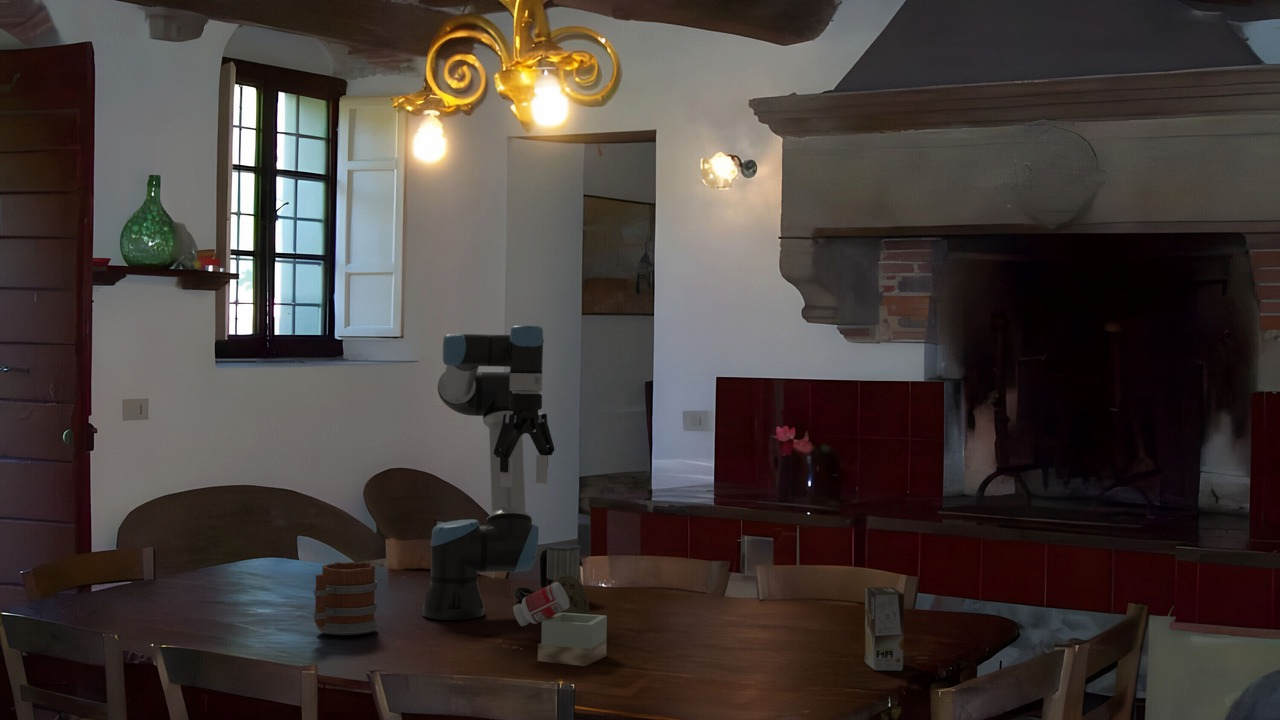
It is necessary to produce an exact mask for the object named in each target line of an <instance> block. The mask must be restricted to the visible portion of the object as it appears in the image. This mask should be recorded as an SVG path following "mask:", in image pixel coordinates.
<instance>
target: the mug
mask: <svg viewBox="0 0 1280 720" xmlns="http://www.w3.org/2000/svg"><path fill="white" fill-rule="evenodd" d="M321 573H322V574H316V575H315V588H314V591H313V595H314V596H315V597H314V598H315V599H314V600H315V605H314V606H315V609H314V610H315V611H313V619H314V623H315V625H316V626H317V627H316V628H317V630H318V632H320V633H322V634H327V635H333V636H353V635H354V636H355V635H363V634H369V633H372V632H375V631H376V630H377V629H379V625H378V623H377V621H376V619H375V613H376V612H377V609H378V608H377V607H378V605H377V603H378V602H376V601H375V591H376V590H377V589H378V580H377V579H376V578H375V577H376V576H375V575H376V565H375V564H374V563H371V562H367V561H362V562H354V561H349V562H339V561H336V562H334V563H329V564H324V565H323V566H322V572H321Z"/></svg>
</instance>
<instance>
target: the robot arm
mask: <svg viewBox="0 0 1280 720" xmlns="http://www.w3.org/2000/svg"><path fill="white" fill-rule="evenodd" d="M544 342H545V339H544V330H543V328H542V327H541V326H538V325H513V326H512V327H511V329H510V334H481V333H479V334H477V333H460V332H458V333H447V334H445V335H444V337H443V342H442V362H443V364H444V365H446V366H445V367H446V368H445V371H444V372H443V373H442V374H441V376H440V377H439V378H438V379H439V380H438V381H437V382H438V384H437V393H438V395H439V398H440V399H441V401H442V403H444V405H445V406H447V407H448V408H449V409H451V410H452V411H454V412H456V413H459V414H462V415H465V416H471V417H475V416H478V417H482V423H483V424H484V426H486V427H487V428H488V430H489V461H490V463H489V465H490V492H491V493H490V495H491V496H490V497H491V499H490V501H491V502H490V503H491V513H490V515H488V516H487V518H486V520H485V525H480V522H479V520H477V519H473V518H472V519H459V520H458V519H457V520H451V521H446V522H442V523H439V524H436V525H435V526H434V527H433V528H432V531H431V541H430V544H429V545H430V547H431V548H430V549H431V551H430V552H431V553H430V554H431V555H430V556H431V557H430V583H429V588H428V591H427V592H426V597H425V599H424V603H423V605H422V616H424V618H427V619H432V620H433V619H434V620H441V621H442V620H445V621H446V620H447V621H459V620H460V621H461V620H471V619H477V618H480V617H481V618H482V617H483V616H484V615H485V605H484V602H483V598H482V594H481V591H480V588H479V583H478V579H479V578H478V577H479V576H478V575H479V574H478V573H514V574H515V573H517V572H528V571H529V572H530V570H532V569H533V568H534V565H535V563H536V559H537V553H538V545H539V533H540V532H539V526H538V525H537V524H536V523H534V524H533V518H532V516H531V515H530V514H528V513H527V512H526V495H525V494H526V493H525V469H524V468H525V467H524V445H523V444H524V442H523V440H524V439H523V435H524V434H528V435H529V437H530V439H531V440H532V442H533V444H534V446H535V449H536V450H537V453H538V454H537V455H536V456H535V458H536V459H535V460H536V462H535V463H536V465H535V484H548V468H549V456H552V455H553V453H554V452H555V445H554V443H553V438H552V434H551V431H550V427H549V424H548V414H547V413H546V412H539V410H542V409H543V395H542V394H541V393H540V392H542V391H543V354H544ZM479 367H506V368H507V367H510V369H509V371H506V372H502V371H498V372H497V371H495V372H494V371H492V372H491V371H478V369H479Z"/></svg>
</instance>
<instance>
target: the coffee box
mask: <svg viewBox="0 0 1280 720" xmlns="http://www.w3.org/2000/svg"><path fill="white" fill-rule="evenodd" d="M864 589H865V603H864V605H865V606H864V624H865V625H864V663H866V664H867V665H868V666H869V667H870V668H871V669H873V671H875V672H876V671H883V672H884V671H886V672H887V671H891V672H892V671H895V672H896V671H899V672H902V671H903V669H904V625H905V624H904V621H905V620H904V617H905V615H904V614H905V603H904V602H905V593H903V592H901V591H899V590H898V589H896V588H894V587H893V586H892V587H891V586H890V587H888V586H884V587H882V586H879V587H878V586H876V587H875V586H874V587H865V588H864Z"/></svg>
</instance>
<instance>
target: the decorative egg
mask: <svg viewBox="0 0 1280 720" xmlns="http://www.w3.org/2000/svg"><path fill="white" fill-rule="evenodd" d="M555 582H558V583H560V584H561V585H562V587H563V588H564V590H565V592H566V594H567V596H568V599H569V604H570V605H569V608H568V609H566V610H564V611H562V612H560V613H574V614H589V615H590V605H589V600H588V596H587V593H586V591H585V589H584V587H583V585H582V583H581V582H580V580H579V581H578V580H577V579H576V578H575V577H574V576H573V575H571V574H561V575H559V576H558V577H557V578H556V579H555V580H554V581H553V582H552V583H551V584H553V583H555Z"/></svg>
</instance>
